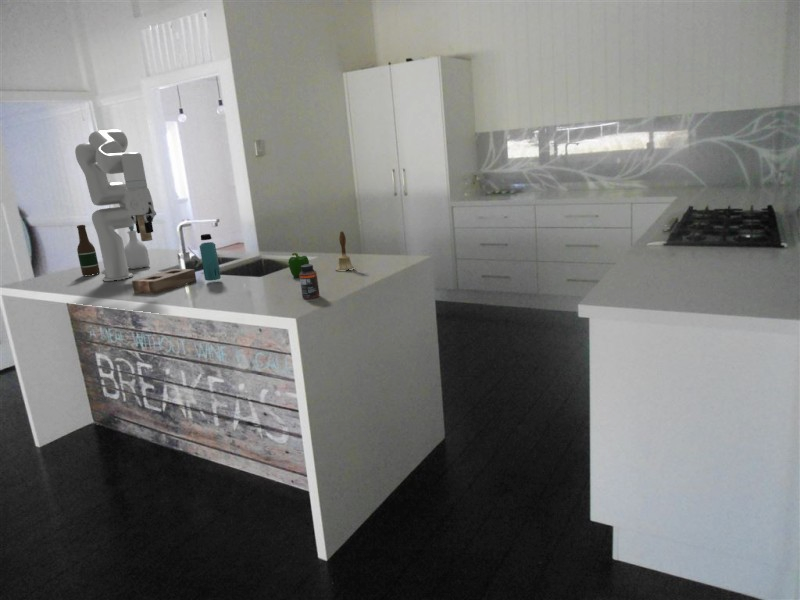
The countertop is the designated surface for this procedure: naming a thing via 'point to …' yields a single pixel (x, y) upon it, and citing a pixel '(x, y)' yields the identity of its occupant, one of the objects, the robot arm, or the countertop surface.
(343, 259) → the hand bell
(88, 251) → the beer bottle
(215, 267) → the beverage bottle
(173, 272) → the bore block
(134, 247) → the soap bottle
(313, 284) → the supplement bottle
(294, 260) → the bell pepper
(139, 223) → the pin
